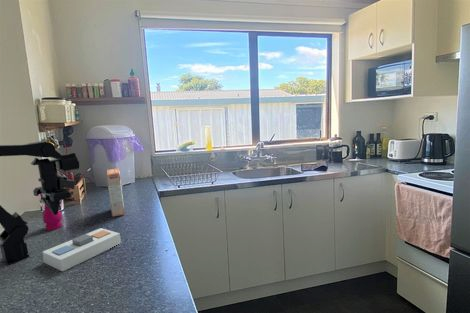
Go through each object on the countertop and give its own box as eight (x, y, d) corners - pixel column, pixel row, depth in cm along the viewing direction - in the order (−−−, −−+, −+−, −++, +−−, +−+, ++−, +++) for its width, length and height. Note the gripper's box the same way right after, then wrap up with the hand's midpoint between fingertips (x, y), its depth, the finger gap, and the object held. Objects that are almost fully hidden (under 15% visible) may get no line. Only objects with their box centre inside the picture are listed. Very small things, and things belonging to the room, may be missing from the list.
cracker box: (125, 215, 145) (119, 172, 141) (111, 217, 143) (105, 174, 139) (124, 206, 158) (119, 167, 154) (112, 208, 156) (106, 169, 152)
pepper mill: (54, 231, 130) (47, 186, 127) (40, 230, 132) (32, 186, 128) (67, 224, 137) (60, 181, 134) (53, 224, 139) (46, 182, 135)
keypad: (62, 271, 96) (60, 259, 95) (44, 262, 102) (42, 251, 102) (121, 243, 114) (119, 233, 113) (102, 237, 120) (100, 228, 119)
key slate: (60, 262, 99) (59, 254, 98) (53, 259, 101) (52, 251, 101) (75, 256, 103) (73, 248, 102) (67, 253, 105) (66, 245, 105)
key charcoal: (80, 250, 104) (79, 241, 104) (73, 247, 107) (72, 239, 106) (93, 244, 108) (92, 236, 108) (86, 241, 111) (85, 234, 110)
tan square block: (99, 245, 110) (98, 237, 110) (92, 242, 113) (91, 235, 112) (111, 239, 114) (110, 232, 114) (103, 237, 117) (102, 230, 116)
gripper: (82, 172, 113) (88, 211, 116) (60, 168, 124) (66, 204, 127) (50, 179, 104) (58, 221, 107) (29, 174, 115) (36, 213, 118)
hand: (55, 214), depth 115 cm, fingers closed
